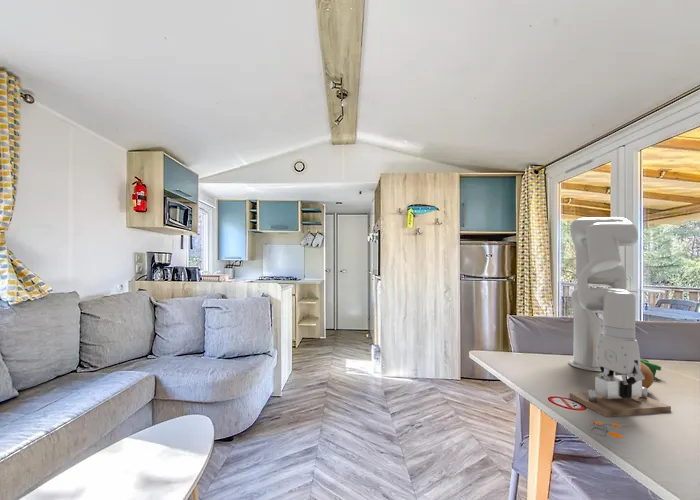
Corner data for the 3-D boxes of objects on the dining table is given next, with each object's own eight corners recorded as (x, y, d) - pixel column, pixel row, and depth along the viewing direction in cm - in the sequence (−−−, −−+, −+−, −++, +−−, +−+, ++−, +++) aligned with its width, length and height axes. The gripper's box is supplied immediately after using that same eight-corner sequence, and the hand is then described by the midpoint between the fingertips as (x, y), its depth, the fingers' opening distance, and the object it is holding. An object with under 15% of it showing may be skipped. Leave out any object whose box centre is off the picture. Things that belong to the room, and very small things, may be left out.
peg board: (628, 393, 106) (628, 379, 106) (670, 411, 94) (670, 395, 94) (569, 397, 101) (569, 383, 102) (606, 416, 90) (606, 400, 90)
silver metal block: (595, 393, 99) (595, 376, 99) (627, 391, 101) (628, 374, 101) (607, 399, 95) (608, 381, 95) (641, 396, 97) (641, 379, 97)
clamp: (652, 389, 121) (666, 371, 118) (634, 383, 123) (647, 365, 119) (636, 367, 132) (649, 350, 128) (620, 362, 133) (631, 345, 129)
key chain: (619, 444, 77) (619, 440, 77) (583, 430, 83) (583, 427, 83) (632, 427, 85) (632, 424, 85) (598, 415, 91) (598, 412, 91)
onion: (661, 394, 106) (661, 363, 106) (638, 396, 104) (638, 365, 104) (629, 382, 116) (629, 354, 116) (607, 384, 113) (608, 355, 113)
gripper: (583, 326, 106) (582, 383, 105) (637, 340, 89) (637, 407, 89) (602, 326, 107) (602, 382, 107) (659, 339, 91) (659, 406, 90)
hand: (618, 393), depth 98 cm, fingers closed on silver metal block, 3 cm apart
